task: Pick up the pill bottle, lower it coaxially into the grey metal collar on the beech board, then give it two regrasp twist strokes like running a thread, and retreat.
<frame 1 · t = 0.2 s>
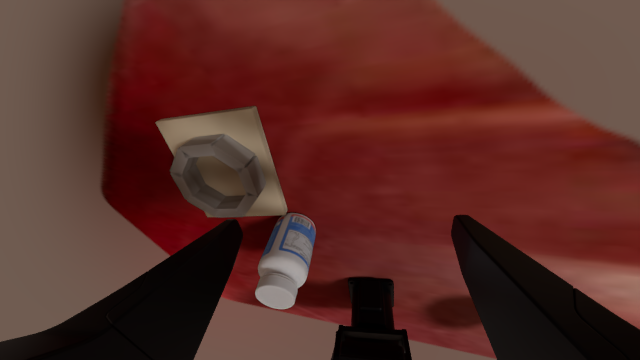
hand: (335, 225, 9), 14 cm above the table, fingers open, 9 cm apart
collar: (229, 168, 27), on the table
pill bottle: (297, 225, 30), on the table
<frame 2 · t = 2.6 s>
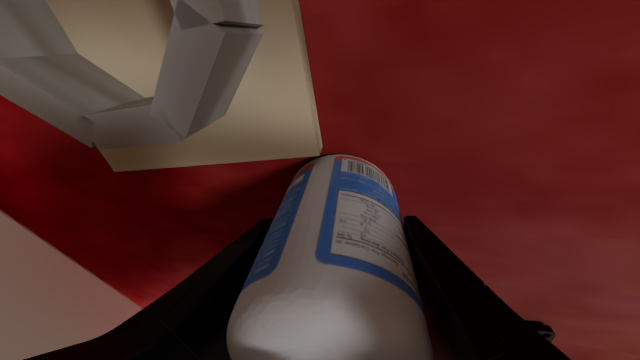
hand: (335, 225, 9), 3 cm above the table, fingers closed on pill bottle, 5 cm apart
pill bottle: (342, 195, 12), on the table, touching gripper
when the fingers open (5 cm above the table, at t = 6.1 s): pill bottle drops 1 cm, resting on collar.
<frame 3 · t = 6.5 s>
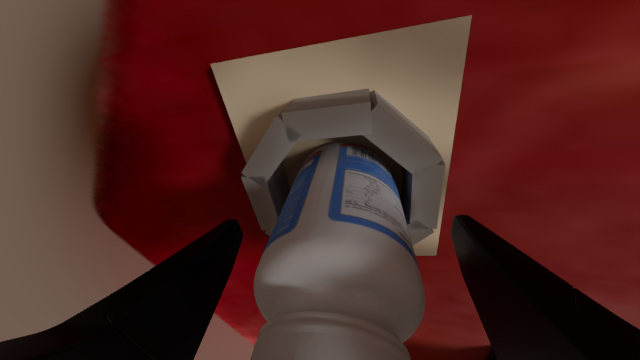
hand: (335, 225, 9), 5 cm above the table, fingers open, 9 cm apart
collar: (343, 167, 14), on the table
pill bottle: (346, 181, 13), point 1 cm above the table, touching collar
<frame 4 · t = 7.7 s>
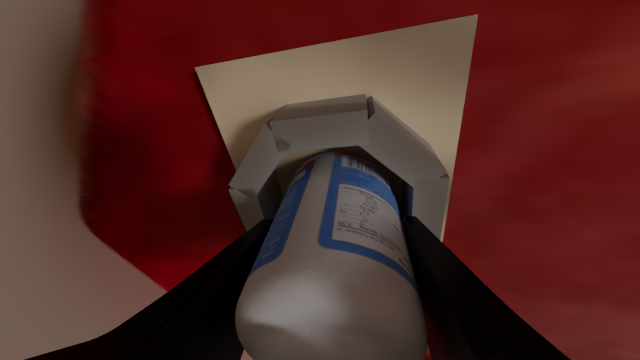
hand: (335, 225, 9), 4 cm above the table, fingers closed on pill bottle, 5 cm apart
collar: (339, 175, 13), on the table
pill bottle: (342, 191, 12), point 1 cm above the table, touching collar, gripper
when the fingers open (6 cm above the table, at t = 9.4 s): pill bottle drops 2 cm, resting on collar.
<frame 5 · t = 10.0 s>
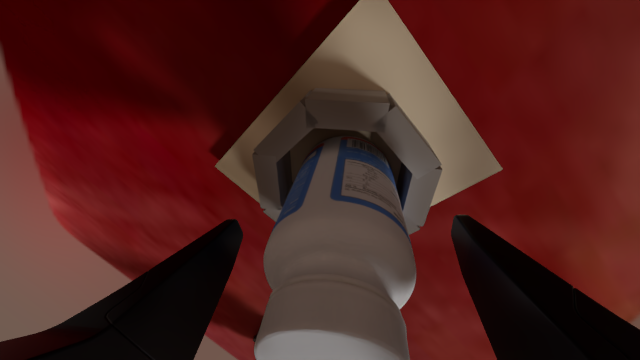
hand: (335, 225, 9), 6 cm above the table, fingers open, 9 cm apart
collar: (344, 160, 14), on the table
pill bottle: (346, 173, 14), point 1 cm above the table, touching collar
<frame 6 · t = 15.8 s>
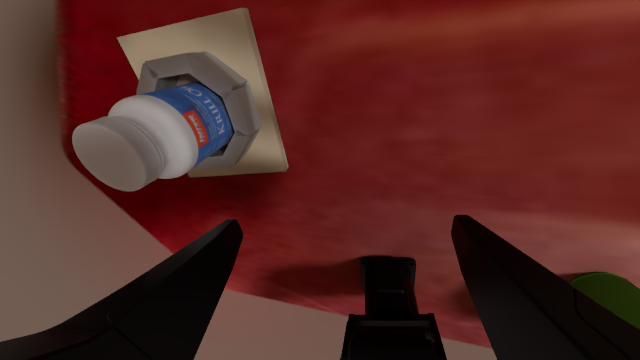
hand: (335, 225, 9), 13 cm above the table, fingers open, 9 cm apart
collar: (216, 108, 21), on the table
cup: (591, 284, 25), on the table
pill bottle: (214, 111, 20), point 1 cm above the table, touching collar
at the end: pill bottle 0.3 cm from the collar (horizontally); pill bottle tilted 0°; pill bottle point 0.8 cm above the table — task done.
